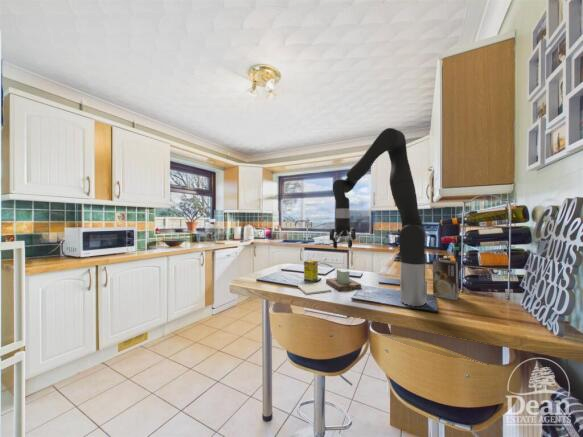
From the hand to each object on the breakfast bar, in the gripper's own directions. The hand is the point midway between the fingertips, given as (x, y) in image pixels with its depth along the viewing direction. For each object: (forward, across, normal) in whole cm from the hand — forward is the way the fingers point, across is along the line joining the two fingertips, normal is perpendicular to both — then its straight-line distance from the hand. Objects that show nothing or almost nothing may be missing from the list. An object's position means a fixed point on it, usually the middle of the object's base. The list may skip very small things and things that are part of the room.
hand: (342, 248), depth 123 cm
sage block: (+20, 0, 0) cm, 20 cm away
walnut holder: (+20, 0, 0) cm, 20 cm away
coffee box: (+20, +35, -30) cm, 50 cm away
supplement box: (+20, -12, +15) cm, 28 cm away
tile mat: (+20, -17, 0) cm, 26 cm away
